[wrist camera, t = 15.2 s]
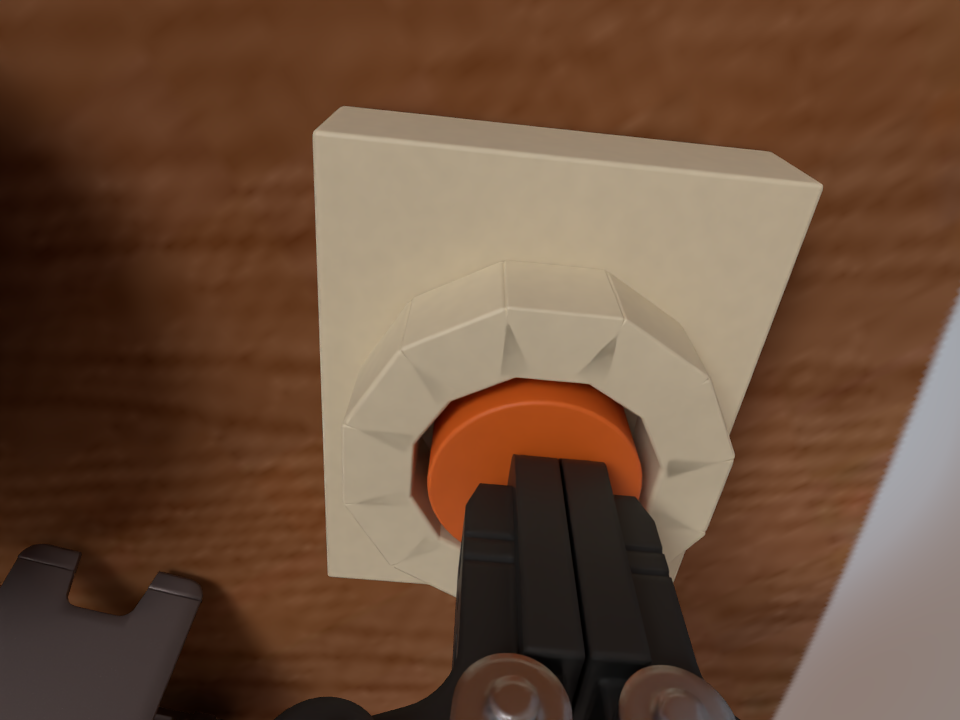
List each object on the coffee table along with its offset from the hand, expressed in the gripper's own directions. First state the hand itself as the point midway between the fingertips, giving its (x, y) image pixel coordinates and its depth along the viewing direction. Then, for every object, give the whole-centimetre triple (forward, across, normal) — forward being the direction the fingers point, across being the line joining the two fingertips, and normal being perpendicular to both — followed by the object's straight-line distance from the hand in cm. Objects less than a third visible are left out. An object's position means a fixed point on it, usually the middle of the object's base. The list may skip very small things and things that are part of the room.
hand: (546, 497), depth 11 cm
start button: (+2, 0, 0) cm, 2 cm away
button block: (+4, 0, 0) cm, 4 cm away
